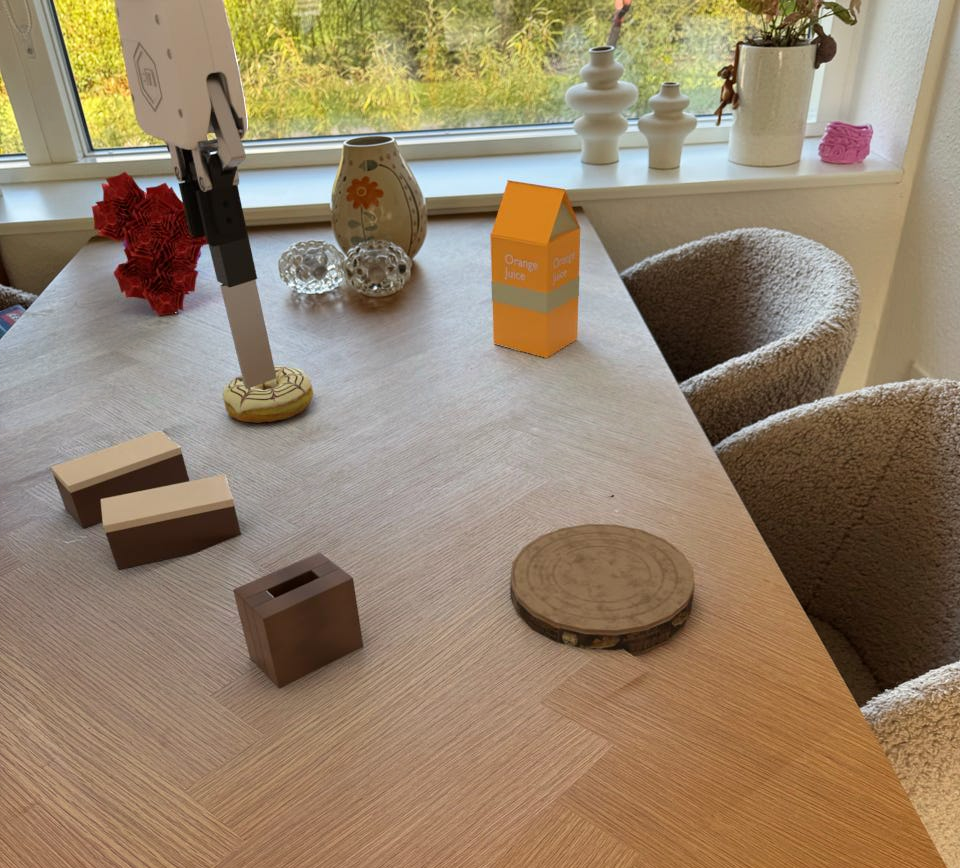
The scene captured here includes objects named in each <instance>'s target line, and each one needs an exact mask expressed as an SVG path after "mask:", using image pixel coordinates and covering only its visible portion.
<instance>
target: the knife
mask: <svg viewBox="0 0 960 868" xmlns="http://www.w3.org/2000/svg"><path fill="white" fill-rule="evenodd" d="M208 161H209V158H207V163H208ZM189 166H190V170H191V174H192V178H193V182H194V186H195V191H197V190H201V188H200V185H199V182H198V177H197V173H196V168H195V163H194V161H193V162H189ZM240 201H241V199H240ZM241 202H242V201H241ZM241 206H242V207H243V205H242V204H241ZM242 211H243V212H244V209H243V208H242ZM243 217H244V222H245V228H246V233H247V235H246V238H245V239H243V240H239V241H235V242H231V243H227V244H223V245H219V246H214V247H213V246H211V245H209V244H208V248H209V252H210V256H211V260H212V264H213V269H214V273H215V276H216V281H217V282H218V283H220V286H219V287H220V290H221V295H222V298H223V303H224V307H225V311H226V316H227V319H228V324H229V328H230V332H231V336H232V341H233V344H234V348H235V352H236V353H235V354H236V357H237V361H238V365H239V369H240V373H241V374H240V375H242V378H243V382H244V386H245V388H246V389H249V388H252V387H254V386H257V385H260V384H263V383H265V382H268V381H271V380H273V379H276V378H277V377H276V372H275V368H274V366H275V364H274V360H273V355H272V350H271V346H270V341H269V336H268V332H267V327H266V322H265V321H266V320H265V317H264V313H263V308H262V303H261V299H260V294H259V289H258V286H257V282H256V281H257V280H258V276H257V271H256V265H255V262H254V255H253V251H252V247H251V243H250V237H249V233H248V229H247V228H248V227H247V224H246V219H245V215H244V213H243Z"/></svg>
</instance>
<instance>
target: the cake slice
mask: <svg viewBox="0 0 960 868" xmlns="http://www.w3.org/2000/svg"><path fill="white" fill-rule="evenodd" d="M101 510H102V521H103V522H102V527H103V530H104V533H105V536H106V539H107V542H108V545H109V548H110V550H111V554H112V556H113V560H114V562H115V565H116V568H117V570H123V569H124V570H125V569H128V568H133V567H135V566H137V567H138V566H141V565H146V564H151V563H155V562H160V561H165V560H170V559H174V558H178V557H183V556H187V555H192V554H196V553H197V554H198V553H200V552H202V551H205V550H207V549H209V548H213V547H214V546H218V545H220V544H222V543H225V542H227V541H229V540H232V539H234V538H237V537H239V536H242V532H241V527H240V523H239V519H238V515H237V511H236V506H235V501H234V498H233V495H232V491H231V488H230V485H229V482H228V479H227V474H226V473H224V474H219V475H215V476H208V477H204V478H199V479H195V480H189V482H184V483H179V484H174V485H169V486H164V487H159V488H154V489H149V490H144V491H139V492H134V493H129V494H124V495H119V496H114V497H109V498H104V499H101Z"/></svg>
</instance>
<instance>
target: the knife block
mask: <svg viewBox="0 0 960 868" xmlns="http://www.w3.org/2000/svg"><path fill="white" fill-rule="evenodd" d="M232 591H233V595H234V600H235V604H236V608H237V612H238V616H239V619H240V623H241V628H242V630H243V635H244V640H245V643H246V646H247V651H248V655H249V658H250V660H251V661H252V662H253V663H254V664H255V665H256V666H257V667H258V668H259V669H260V670H261V671H262V672H263V673H264V675H266V677H267V678H268V679H270V680H271V682H272V683H273V684H274V685H275V686H276V688H278V689H282V688H283V687H286V686H288V685H290V684H292V683H294V682H297V681H298V680H300V679H301V678H303V677H306V676H308V675H309V674H312V673H314V672H316V671H318V670H319V669H322V668H323V667H326V666H328V665H330V664H331V663H334V662H336V661H338V660H339V659H342V658H344V657H346V656H348V655H350V654H352V653H354V652H355V651H358V650H360V649H361V648H363V647H364V641H363V634H362V628H361V621H360V615H359V614H360V613H359V607H358V601H357V595H356V588H355V582H354V578H353V577H352V576H351V574H349V573H348V572H346V571H345V570H344V569H343V568H341V567H340V566H339V565H338V564H337V563H335V562H334V561H332V560H331V559H330V557H328V556H327V555H326V554H324V553H323V552H322V551H318V552H316V553H314V554H311V555H309V556H307V557H305V558H302V559H300V560H298V561H296V562H294V563H291V564H289V565H286V566H284V567H282V568H280V569H277V570H274V571H273V572H271V573H268V574H266V575H264V576H262V577H261V576H260V577H259V578H256V579H254V580H252V581H250V582H248V583H244V584H243V585H241V586H238V587H236V588H233V590H232Z"/></svg>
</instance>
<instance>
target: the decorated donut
mask: <svg viewBox="0 0 960 868" xmlns="http://www.w3.org/2000/svg"><path fill="white" fill-rule="evenodd" d="M274 368H275V372H276V377H277V378H276V379H273V380H271V381H268V382H265V383H263V384H260V385H257V386H254V387H252V388H249V389H246V388H245V386H244V382H243V378H242V374H240V375H238V376H236V377H235V378H233V379H232V380H231V381H230V382H229V383H228V384H227V385H226V386H225V387H224V388H223V390H222V391H223V392H222V398H223V403H224V406H225V409H226V411H227V413H228V414H229V417H231V418H235V419H236V420H238V421H241V422H244V423H247V422H248V423H251V422H252V423H255V424H261V423H265V422H266V423H267V422H268V423H274V422H276V421H280V420H286V419H290V418H292V417H293V416H296V415H298V414H299V413H301V412H302V411H305V409H306V408H307V407H308V406H309V405H310V403H311V400H312V398H313V396H314V389H313V384H312V383H311V382H312V381H311V379H310V378H309V376H308V375H307V373H306V372H305V371H303V370H302V369H299V368H297V367H292V366H290V365H289V366H288V365H274Z"/></svg>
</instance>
